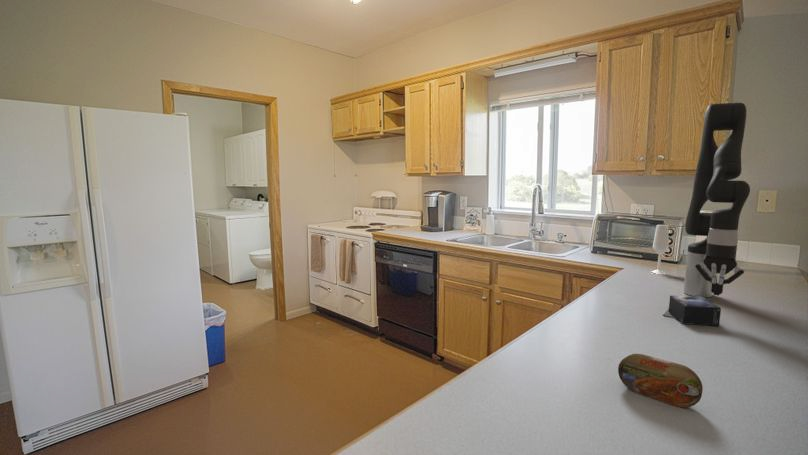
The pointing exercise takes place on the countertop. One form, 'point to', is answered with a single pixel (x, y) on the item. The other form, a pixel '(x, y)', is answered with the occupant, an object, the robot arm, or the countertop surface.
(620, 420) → the countertop surface
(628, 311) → the countertop surface
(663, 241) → the champagne flute
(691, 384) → the tin
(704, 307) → the small box
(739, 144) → the robot arm
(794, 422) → the countertop surface
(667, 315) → the mat
